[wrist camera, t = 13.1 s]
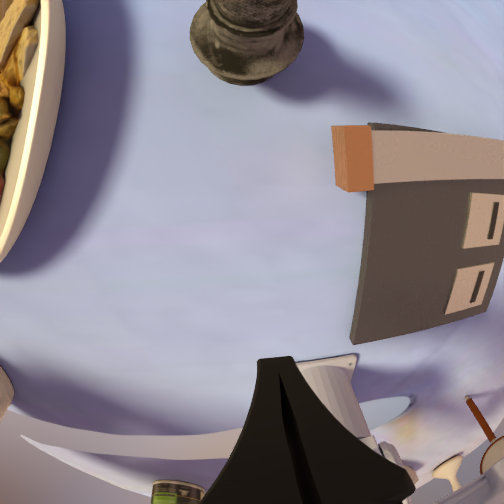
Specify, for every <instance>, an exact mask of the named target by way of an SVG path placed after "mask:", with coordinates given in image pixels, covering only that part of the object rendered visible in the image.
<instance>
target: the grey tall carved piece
mask: <svg viewBox="0 0 504 504" xmlns="http://www.w3.org/2000/svg"><path fill="white" fill-rule="evenodd" d="M297 7H298V6H297V0H206V3H204V4H203V5H202V6H201V7H200V9H199V10H198V11H197V13H196V14H195V16H194V18H193V21H192V24H191V27H190V41H191V44H192V47H193V50H194V53H195V54H196V55H197V57H198V58H199V59H200V61H201V62H202V63H203V64H204V65H205V66H207V67H208V68H209V70H210V71H211V72H212V73H213V74H214V75H215V76H217V77H218V78H219V79H221V80H223V81H226V82H228V83H231V84H236V85H254V84H257V83H261V82H264V81H265V80H267V79H269V78H271V77H272V76H274V75H275V74H277V73H279V72H281V71H283V70H284V69H285V68H287V67H288V66H289V65H290V64H291V63H292V62H293V61H294V60H295V59H296V57H297V55H298V54H299V52H300V51H301V48H302V44H303V40H304V31H303V25H302V22H301V20H300V17H299V15H298V14H297V12H296V11H297Z"/></svg>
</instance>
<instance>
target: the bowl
mask: <svg viewBox="0 0 504 504" xmlns="http://www.w3.org/2000/svg"><path fill="white" fill-rule="evenodd" d="M65 52H66V25H65V14H64V7H63V2H62V0H0V263H1V261H2V260H3V259H4V258H5V257H6V255H7V254H8V252H9V251H10V249H11V248H12V247H13V245H14V243H15V242H16V240H17V238H18V236H19V234H20V232H21V231H22V229H23V227H24V224H25V222H26V220H27V218H28V216H29V213H30V211H31V208H32V206H33V203H34V201H35V198H36V195H37V192H38V189H39V186H40V183H41V180H42V177H43V174H44V170H45V167H46V163H47V160H48V156H49V152H50V148H51V144H52V139H53V135H54V131H55V126H56V121H57V116H58V110H59V104H60V98H61V92H62V84H63V76H64V66H65Z"/></svg>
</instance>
